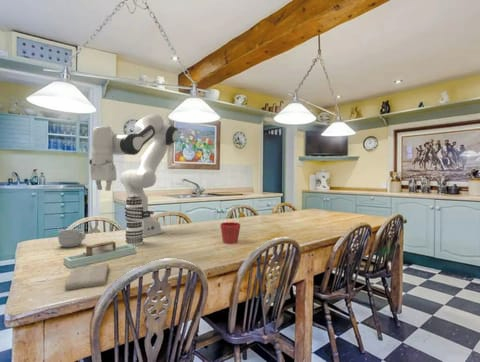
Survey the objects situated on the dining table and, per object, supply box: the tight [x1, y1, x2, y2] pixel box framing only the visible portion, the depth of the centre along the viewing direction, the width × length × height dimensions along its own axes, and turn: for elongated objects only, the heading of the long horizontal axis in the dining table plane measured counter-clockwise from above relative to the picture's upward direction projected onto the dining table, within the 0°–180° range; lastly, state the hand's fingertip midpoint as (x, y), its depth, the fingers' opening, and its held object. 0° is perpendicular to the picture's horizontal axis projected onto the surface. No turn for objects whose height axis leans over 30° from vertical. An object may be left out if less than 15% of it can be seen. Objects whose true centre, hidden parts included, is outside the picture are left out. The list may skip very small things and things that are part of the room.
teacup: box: [57, 228, 86, 248], centre depth 138 cm, size 14×11×8 cm
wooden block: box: [85, 240, 117, 257], centre depth 119 cm, size 11×3×5 cm, turn 139°
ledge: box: [63, 244, 137, 269], centre depth 119 cm, size 27×8×3 cm, turn 139°
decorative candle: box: [124, 195, 144, 247], centre depth 143 cm, size 9×9×25 cm
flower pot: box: [220, 221, 241, 244], centre depth 148 cm, size 11×11×10 cm
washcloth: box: [64, 263, 110, 291], centre depth 96 cm, size 12×18×3 cm, turn 23°
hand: (103, 190), depth 130 cm, fingers open, 8 cm apart
